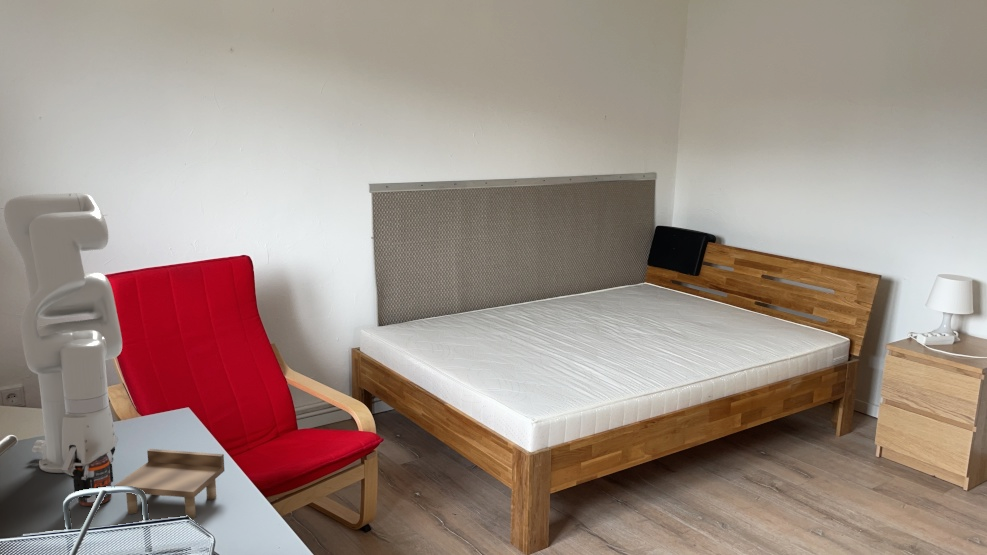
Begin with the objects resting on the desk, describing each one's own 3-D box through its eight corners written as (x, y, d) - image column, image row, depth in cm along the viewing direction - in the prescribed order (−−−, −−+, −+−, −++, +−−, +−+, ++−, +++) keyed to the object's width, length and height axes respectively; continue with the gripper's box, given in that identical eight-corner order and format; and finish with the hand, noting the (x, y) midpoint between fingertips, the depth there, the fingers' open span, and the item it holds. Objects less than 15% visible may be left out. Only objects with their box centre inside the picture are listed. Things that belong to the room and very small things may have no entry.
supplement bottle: (98, 509, 150) (94, 454, 148) (71, 506, 151) (66, 451, 149) (118, 495, 156) (114, 442, 154) (92, 492, 157) (87, 440, 155)
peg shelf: (116, 515, 147) (113, 473, 146) (153, 488, 159) (150, 448, 158) (195, 522, 145) (192, 480, 144) (225, 494, 157) (223, 454, 155)
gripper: (97, 387, 159) (104, 469, 162) (37, 417, 142) (46, 508, 145) (131, 389, 158) (137, 472, 161) (74, 420, 141) (83, 511, 144)
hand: (94, 488), depth 153 cm, fingers closed on supplement bottle, 5 cm apart
